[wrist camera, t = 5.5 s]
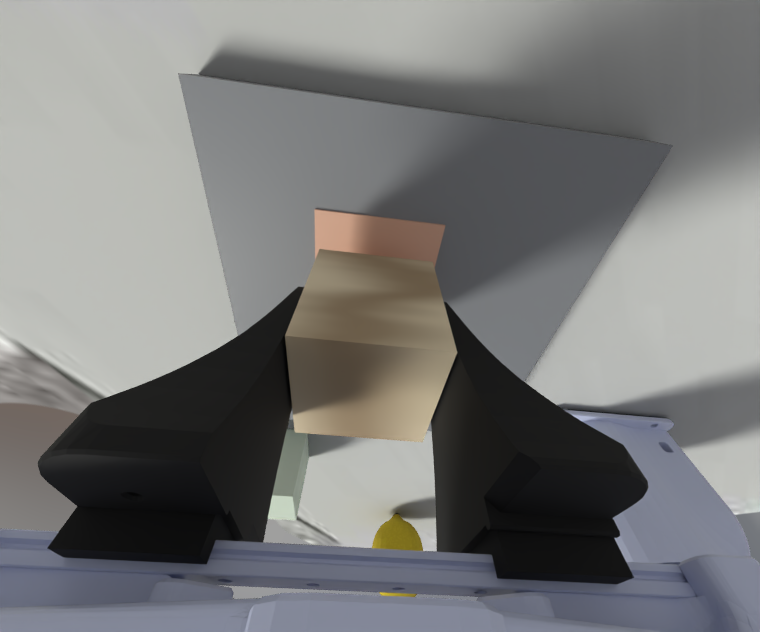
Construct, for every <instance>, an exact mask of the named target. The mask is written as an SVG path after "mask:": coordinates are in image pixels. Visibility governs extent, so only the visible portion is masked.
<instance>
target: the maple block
mask: <svg viewBox="0 0 760 632" xmlns="http://www.w3.org/2000/svg"><path fill="white" fill-rule="evenodd" d="M285 341H286V351H287V361H288V371H289V381H290V390H291V400H292V410H293V420H294V430H295V433H309V434H322V435H335V436H348V437H361V438H374V439H387V440H400V441H414V442H423V440H424V437H425V434H426V432H427V429H428V427H429V424H430V422H431V419H432V416H433V414H434V411H435V409H436V406H437V403H438V401H439V398H440V396H441V393H442V390H443V388H444V385H445V383H446V380H447V378H448V375H449V372H450V370H451V367H452V365H453V362H454V359H455V357H456V354H457V349H456V346H455V342H454V338H453V335H452V331H451V327H450V324H449V320H448V316H447V312H446V309H445V305H444V301H443V298H442V294H441V290H440V287H439V283H438V279H437V276H436V272H435V268H434V264H433V262H430V261H421V260H413V259H404V258H395V257H386V256H378V255H369V254H360V253H351V252H343V251H334V250H325V249H319V252H318V254H317V257H316V259H315V262H314V264H313V267H312V269H311V272H310V274H309V277H308V279H307V282H306V284H305V287H304V289H303V292H302V294H301V297H300V299H299V302H298V304H297V307H296V309H295V312H294V314H293V317H292V319H291V322H290V324H289V327H288V329H287V332H286V334H285Z"/></svg>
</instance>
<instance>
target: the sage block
mask: <svg viewBox="0 0 760 632" xmlns="http://www.w3.org/2000/svg"><path fill="white" fill-rule="evenodd" d="M308 459H309V450H308V433H295V430H294V429H287V431H286V435H285V439H284V444H283V448H282V452H281V457H280V461H279V466H278V470H277V475H276V480H275V485H274V489H273V494H272V499H271V504H270V509H269V514H268V519H279V520H296V518H297V513H298V508H299V503H300V498H301V493H302V488H303V484H304V479H305V474H306V469H307V464H308Z"/></svg>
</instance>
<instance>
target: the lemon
mask: <svg viewBox="0 0 760 632" xmlns="http://www.w3.org/2000/svg"><path fill="white" fill-rule="evenodd" d="M372 548H377V549H395V550H414V551H423V547H422V543H421V540H420V537H419V535H418V533H417V531H416V530H415V528H414V527H413V526H412V525H411V524H410V523H408V522H406V521H404V520H403V519H402V518H401V517H400V515H398V514H395V515H393V517H392V518H391V519H390V520H389V521H387V522H385V523H384V524H383V525H382V526H381V527H380V528H379V530H378V531H377V533H376V535H375V538H374V541H373V546H372ZM379 593H380V594H381V595H382V596H402V597H415V596H416V595H417V594H407V593H384V592H379Z"/></svg>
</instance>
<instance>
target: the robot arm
mask: <svg viewBox="0 0 760 632" xmlns="http://www.w3.org/2000/svg"><path fill="white" fill-rule="evenodd" d="M303 289H304V287H297V288H296V289H295V290H294V291H293V292H291V293H290V294H289V295H288V296H287V297H286V298H285V299H284V300H283V301H282V302H280V303H279V304H278V305H277V306H276V307H275V308H274V309H272V310H271V311H270V312H269V313H268V314H267V315H265V316H264V317H263V318H262V319H260V320H259V321H258V322H256V323H255V324H254V325H253V326H251V327H250V328H249V329H247V330H246V331H245V332H243V333H242V334H240V335H239V336H237V337H236V338H234V339H233V340H231V341H229V342H228V343H226V344H225V345H223V346H221V347H220V348H218V349H216V350H214V351H212V352H210V353H209V354H207V355H205V356H203V357H201V358H199V359H197V360H195V361H193V362H191V363H190V364H188V365H186V366H183V367H181V368H179V369H177V370H175V371H173V372H170V373H168V374H166V375H164V376H161V377H159V378H157V379H154V380H152V381H149V382H147V383H144V384H142V385H139V386H137V387H134V388H131V389H129V390H126V391H123V392H120V393H118V394H115V395H112V396H110V397H107V398H104V399H101V400H98V401H95V402H92V403H91V404H90V405H89V406H88V407H87V408H86V409H85V410H84V411H83V412H82V413H81V414H80V415H79V416H78V417H77V418H76V419H75V420H74V422H73V423H72V424H71V425H70V426H69V427H68V428H67V429H66V430H65V431H64V432H63V433H62V434H61V436H60V437H59V438H58V439H57V440H56V441H55V442H54V443H53V444H52V445H51V446H50V447H49V448H48V450H47V451H46V452H45V453H44V454H43V455H42V456H41V458H40V459H39V461H38V467H39V470H40V474H41V476H42V477H43V478H44V479H45V480H46V481H47V482H48V483H49V484H51V485H52V486H53V487H54V488H56V489H57V490H58V491H59V492H61V493H62V494H63V495H64V496H65V497H67V498H68V499H69V500H71V501H72V502H73V503H74V504H75V505H77V508H76V509H75V511H74V512H73V513H72V515H71V516H70V518H69V519H68V520H67V522H66V523H65V524H64V526H63V527H62V528H61V530H60V531H59V532H58V531H38V530H21V529H2V528H1V529H0V632H760V565H759V563H758V562H757V560H756V559H754V558H752V557H751V555H750V548H749V544H748V541H747V538H746V535H745V533H744V531H743V529H742V526H741V525H740V523H739V521H738V520H737V518H736V517H735V515H734V514H733V512H732V511H731V510H730V508H729V507H728V506H727V505H726V503H725V502H724V501H723V500H722V499H721V497H720V496H719V495H718V494H717V492H716V491H715V490H714V489H713V487H712V486H711V485H710V484H709V483H708V481H707V480H706V479H705V478H704V476H703V475H702V474H701V473H700V472H699V470H698V469H697V468H696V467H695V465H694V464H693V463H692V462H691V460H690V459H689V458H688V457H687V456H686V454H685V453H684V452H683V451H682V449H681V448H680V447H679V446H678V445H677V443H676V442H675V441H674V440H673V438H672V437H671V436H670V435H669V434H668V432H667V431H668V430H670V429H671V428H672V427H673V426H674V423H673V422H672V421H671V420H670V419H666V418H654V417H642V416H631V415H619V414H607V413H596V412H584V411H572V410H563V409H562V408H560V407H558V406H557V405H555V404H554V403H552V402H551V401H550V400H548V399H547V398H545V397H544V396H542V395H541V394H540V393H538V392H537V391H536V390H534V389H533V388H532V387H530V386H529V385H528V384H526V383H525V382H524V381H522V380H521V379H520V378H519V377H517V376H516V375H515V374H514V373H513V372H512V371H510V370H509V369H508V368H507V367H506V366H505V365H503V364H502V363H501V362H500V361H499V360H498V359H497V358H496V357H495V356H494V355H493V354H492V353H491V352H490V351H489V350H488V349H487V348H486V347H485V346H484V345H483V344H482V343H481V342H480V341H479V340H478V339H477V338H476V336H475V335H474V334H473V333H472V332H471V331H470V330H469V328H468V327H467V326H466V325H465V324H464V323H463V321H462V320H461V319H460V318H459V317H458V315H457V314H456V313H455V312H454V310H453V309H452V308H451V307H450V306H449V305H448V303H447V302H444V305H445V309H446V312H447V316H448V320H449V324H450V327H451V331H452V335H453V338H454V342H455V346H456V349H457V354H456V357H455V359H454V362H453V365H452V367H451V370H450V372H449V375H448V378H447V380H446V383H445V385H444V388H443V390H442V393H441V396H440V398H439V401H438V403H437V406H436V409H435V411H434V414H433V416H432V419H431V428H432V441H433V456H434V473H435V496H436V531H437V552H433V551H414V550H395V549H377V548H358V547H339V546H320V545H302V544H301V545H300V544H282V543H264V542H263V540H264V535H265V529H266V524H267V519H268V514H269V509H270V504H271V499H272V494H273V489H274V485H275V480H276V475H277V470H278V466H279V461H280V457H281V452H282V448H283V444H284V439H285V435H286V431H287V427H288V422H289V418H290V414H291V411H292V400H291V390H290V381H289V371H288V361H287V351H286V341H285V334H286V332H287V329H288V327H289V324H290V322H291V319H292V317H293V314H294V312H295V309H296V307H297V304H298V302H299V299H300V297H301V294H302V292H303ZM218 585H226V586H249V587H272V588H295V589H317V590H339V591H362V592H384V593H407V594H429V595H452V596H475V597H478V599H477V601H471V600H462V599H447V598H425V597H402V596H378V595H356V594H355V595H354V594H333V593H280V594H275V595H270V596H264V597H262V598H253V599H234V598H233V591H232V589H231V588H229V587H224V586H218Z"/></svg>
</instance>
